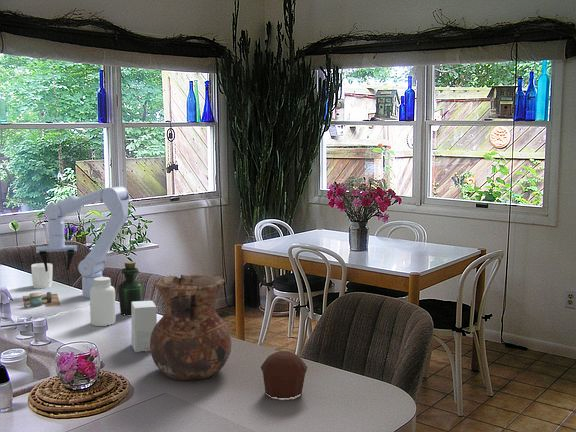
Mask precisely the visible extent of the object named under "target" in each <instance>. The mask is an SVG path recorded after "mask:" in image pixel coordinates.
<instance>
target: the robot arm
mask: <svg viewBox="0 0 576 432" xmlns="http://www.w3.org/2000/svg"><path fill="white" fill-rule="evenodd" d="M130 200H131V196H130V194H129V191H128V189H127V188H126V187H124V186H122V185H119V186H113V187H105V188H101V189H97V190H95V191H92V192H90V193H87V194H85V195H83V196H80V197H78V196H76V195H68V196H67V198H65V199H62V200H61V199H59V200H57V202H55V203H54V202H53V203H51V202H50V203H49V204H47V205H46V206H45V207H44V214H45V216H46V217H47V230H48V235H47V236H48V245H43V246H36V247H35V250H36V251H35V253H36V254H38V253H39V256H40V258H41V260H42V263H44V265H45V271H46V272H47V271H48V268H47V263H48V254H47V253H54V252H55V253H56V252H66V271H70V266H71V262H72V259H73V257H74V255H75V252H77V251H78V245H76V244H67V245H66V243H65V241H66V240H65V220H66V216H68V215H70V214H74V213H76V212H79V211H81V210H82V209H83V206H85V205H89V204H91V203H94V202H100V203H102V202H103V204H104V206H105V207H106V208H107V210H108V211H109V212H110V214H111V215H110V217H109V219H108V221H107V222H106V224H105V226H104V228H103V229H102V231H101V233H100V235H99V237H98V239H97V241H96V243H95V244H94V246H93V248H92V250H91V251H89V253H87V255H86V256H85V257H84V259H82V260H81V261H80V262H79V263H78V267H77V270H78V272H79V274H80V275H81V282H82V283H81V285H82V288H81V289H82V294H81V295H82V297H83V298H87V299H88V298H89V299H90V290H91V288H92V287H94V286H95V285H94V279H95V278H98V277H104V276H103V271H104V270H105V268H106V262H107V260H108V256H107V254H108V252H109V251H110V249H111V247H112V245H113V243H114V242H115V240H116V237H117V236H118V234H119V232H121V229H122V228H123V225H124V223H125V222H126V220H127V219H128V216H129V201H130Z"/></svg>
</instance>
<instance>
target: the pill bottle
mask: <svg viewBox="0 0 576 432" xmlns="http://www.w3.org/2000/svg"><path fill="white" fill-rule="evenodd" d="M111 279H112V278H110V277H108V276H103V277H98V278H95V279H94V285H95V286H94V287H92V288H91V290H90V298H89V308H90V310H89V311H90V313H89V314H90V315H89V316H90V318H89V319H90V324H91V326H94V327H108V326H107V325H109V326H112V325H114V324H115V323H116V317H117V316H116V315H117V314H116V289H115V287H114V286H112V283H111V281H112V280H111ZM111 324H112V325H111Z"/></svg>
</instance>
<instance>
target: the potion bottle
mask: <svg viewBox="0 0 576 432" xmlns="http://www.w3.org/2000/svg"><path fill="white" fill-rule="evenodd" d="M123 264H124V268H122V269H121V272H120V273H121V274H123V275H124V278H125V279H124V281H122V282H120V283H119V285H118V286H117V290H118V299H119V300H118V301H119V309H120V310H119V311H120V314H121V315H122V314H125V315H131V302H135V301H142V295H143V294H142V290H143V285H142V283H141V282H139V281H137V280H135V277H136V274H138V273H139V272H140V271H139V269H138V267H136V261H133V260H132V261H124V263H123Z"/></svg>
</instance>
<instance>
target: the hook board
mask: <svg viewBox="0 0 576 432" xmlns="http://www.w3.org/2000/svg"><path fill="white" fill-rule="evenodd" d="M22 301H23V308H24V309H28V305H30V296H29V295H22ZM42 304H44V306H45V307H47V308H49V307H60V306H62V304H61V301H60V298H59V295H58V293H52V291H47V292H46V294H42Z"/></svg>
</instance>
